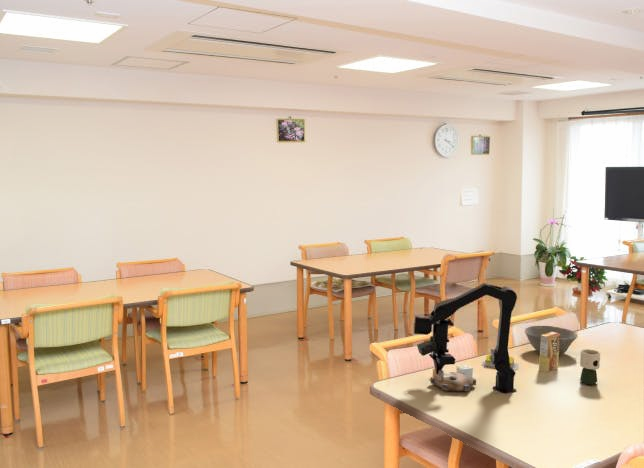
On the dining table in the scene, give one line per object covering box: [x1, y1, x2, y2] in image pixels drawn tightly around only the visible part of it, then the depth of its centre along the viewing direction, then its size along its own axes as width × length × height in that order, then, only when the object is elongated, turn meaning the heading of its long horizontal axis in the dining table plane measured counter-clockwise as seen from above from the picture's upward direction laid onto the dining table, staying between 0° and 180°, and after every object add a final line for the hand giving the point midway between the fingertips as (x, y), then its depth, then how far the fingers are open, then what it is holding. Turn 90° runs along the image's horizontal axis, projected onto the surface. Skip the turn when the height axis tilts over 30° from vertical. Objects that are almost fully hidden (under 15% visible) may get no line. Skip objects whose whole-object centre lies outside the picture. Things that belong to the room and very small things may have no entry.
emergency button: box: [481, 353, 520, 371], centre depth 263 cm, size 9×4×15 cm
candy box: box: [538, 332, 560, 373], centre depth 257 cm, size 9×4×15 cm, turn 129°
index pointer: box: [432, 367, 436, 377], centre depth 246 cm, size 2×2×4 cm
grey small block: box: [455, 364, 474, 378], centre depth 248 cm, size 4×5×4 cm
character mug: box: [579, 348, 601, 386], centre depth 241 cm, size 11×7×13 cm, turn 135°
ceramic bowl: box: [524, 325, 578, 355], centre depth 281 cm, size 22×23×10 cm
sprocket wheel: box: [430, 369, 477, 392], centre depth 236 cm, size 17×16×6 cm
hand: (437, 374), depth 236 cm, fingers closed
